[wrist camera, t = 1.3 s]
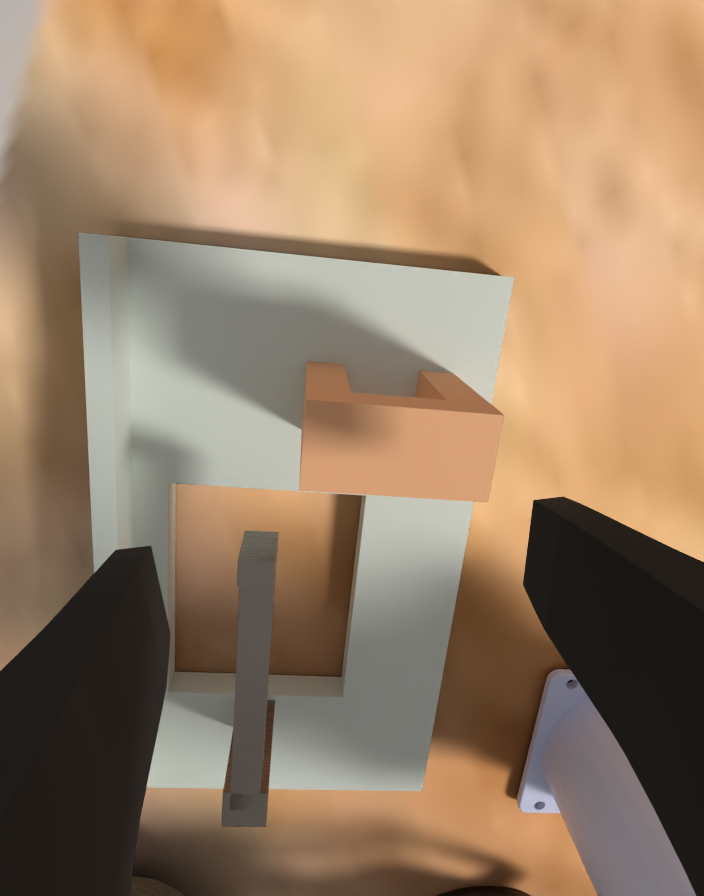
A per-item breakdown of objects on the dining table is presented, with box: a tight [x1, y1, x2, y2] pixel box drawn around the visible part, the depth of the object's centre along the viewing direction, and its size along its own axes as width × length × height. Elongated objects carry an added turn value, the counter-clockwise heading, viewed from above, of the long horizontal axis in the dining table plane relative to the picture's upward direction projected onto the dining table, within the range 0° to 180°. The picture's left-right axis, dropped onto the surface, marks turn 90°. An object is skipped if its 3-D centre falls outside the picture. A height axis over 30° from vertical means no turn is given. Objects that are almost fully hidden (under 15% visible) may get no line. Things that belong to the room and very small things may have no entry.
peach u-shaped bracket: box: [299, 361, 504, 502], centre depth 17 cm, size 5×2×5 cm, turn 84°
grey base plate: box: [78, 232, 514, 791], centre depth 21 cm, size 13×22×3 cm, turn 174°
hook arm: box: [222, 531, 278, 827], centre depth 20 cm, size 2×11×6 cm, turn 174°
